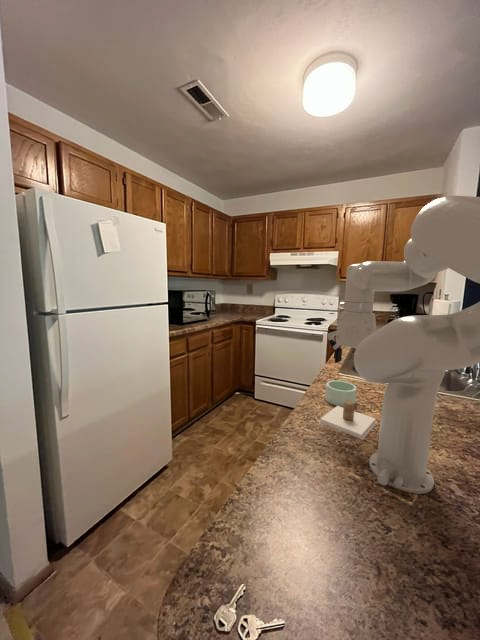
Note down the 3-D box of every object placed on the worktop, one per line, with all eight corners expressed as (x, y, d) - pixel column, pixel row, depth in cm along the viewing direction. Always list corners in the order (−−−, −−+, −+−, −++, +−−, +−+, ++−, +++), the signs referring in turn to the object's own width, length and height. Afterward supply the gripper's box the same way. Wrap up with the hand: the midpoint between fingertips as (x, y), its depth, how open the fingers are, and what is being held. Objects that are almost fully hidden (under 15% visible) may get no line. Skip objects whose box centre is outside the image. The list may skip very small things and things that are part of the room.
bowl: (348, 411, 90) (349, 394, 89) (320, 401, 96) (321, 385, 95) (359, 401, 97) (360, 385, 96) (332, 393, 104) (333, 378, 103)
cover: (361, 438, 73) (362, 417, 72) (320, 421, 81) (321, 403, 81) (375, 421, 82) (377, 403, 81) (337, 408, 90) (338, 391, 89)
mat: (362, 441, 73) (362, 439, 73) (317, 423, 82) (318, 421, 81) (377, 423, 82) (377, 421, 82) (336, 409, 91) (336, 407, 91)
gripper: (323, 306, 80) (320, 361, 82) (387, 311, 68) (381, 376, 70) (335, 304, 85) (331, 357, 88) (395, 309, 73) (389, 369, 76)
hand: (353, 365), depth 79 cm, fingers open, 9 cm apart
